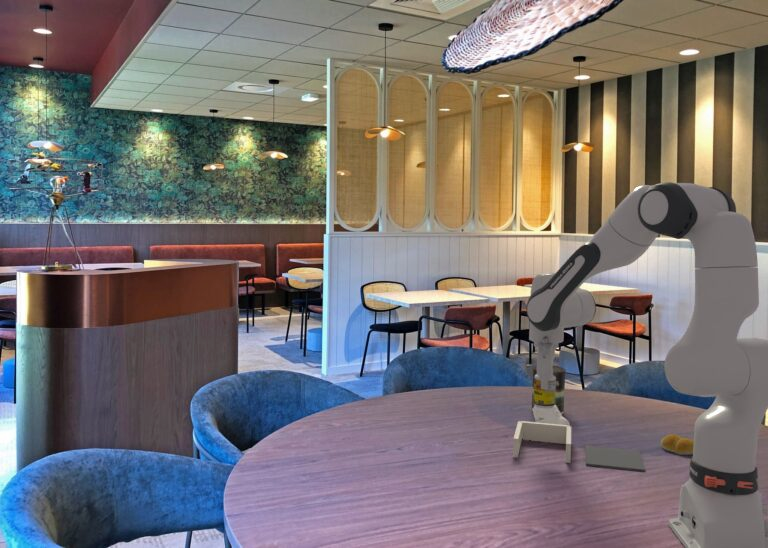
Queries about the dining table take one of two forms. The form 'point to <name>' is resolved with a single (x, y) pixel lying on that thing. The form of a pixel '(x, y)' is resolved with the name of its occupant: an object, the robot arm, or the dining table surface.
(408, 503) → the dining table surface
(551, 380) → the supplement bottle
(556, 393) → the coffee can
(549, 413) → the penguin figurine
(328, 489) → the dining table surface
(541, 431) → the beige u-shaped bracket
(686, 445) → the bread roll
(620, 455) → the mat
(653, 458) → the dining table surface
